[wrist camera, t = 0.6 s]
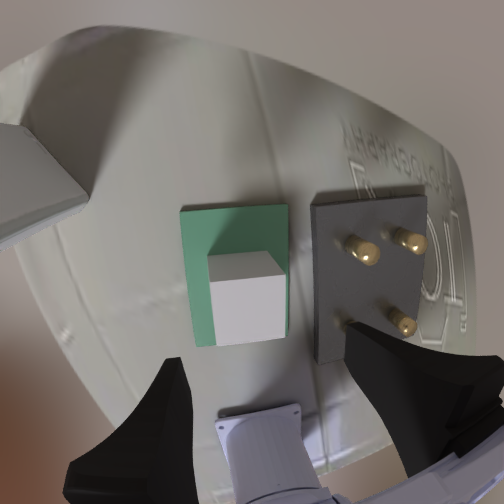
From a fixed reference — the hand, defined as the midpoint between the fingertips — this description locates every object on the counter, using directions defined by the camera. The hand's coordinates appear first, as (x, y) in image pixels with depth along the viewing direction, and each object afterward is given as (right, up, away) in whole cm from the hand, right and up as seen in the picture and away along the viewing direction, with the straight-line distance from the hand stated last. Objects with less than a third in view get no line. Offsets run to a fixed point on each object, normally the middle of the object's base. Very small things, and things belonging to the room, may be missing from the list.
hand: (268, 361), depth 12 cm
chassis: (+9, +2, +11) cm, 14 cm away
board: (-2, +3, +9) cm, 10 cm away
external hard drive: (-15, +10, +4) cm, 18 cm away
